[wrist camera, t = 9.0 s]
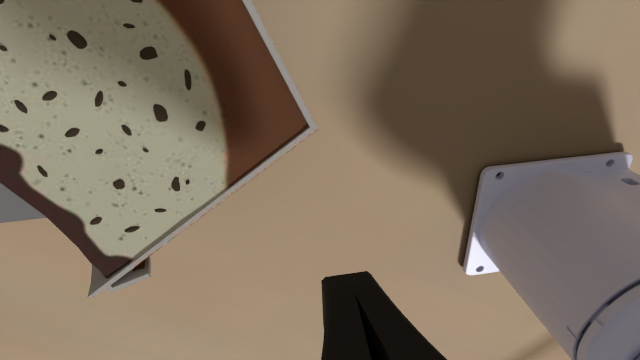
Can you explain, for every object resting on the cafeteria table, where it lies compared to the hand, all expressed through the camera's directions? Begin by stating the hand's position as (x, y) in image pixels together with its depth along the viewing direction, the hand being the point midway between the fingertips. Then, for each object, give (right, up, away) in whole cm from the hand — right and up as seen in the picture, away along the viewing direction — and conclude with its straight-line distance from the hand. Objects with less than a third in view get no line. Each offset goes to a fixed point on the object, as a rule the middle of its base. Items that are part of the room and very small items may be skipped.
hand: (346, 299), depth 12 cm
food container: (-4, +10, +4) cm, 11 cm away
